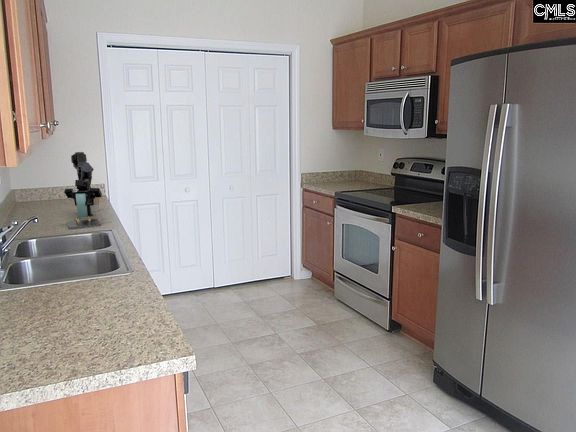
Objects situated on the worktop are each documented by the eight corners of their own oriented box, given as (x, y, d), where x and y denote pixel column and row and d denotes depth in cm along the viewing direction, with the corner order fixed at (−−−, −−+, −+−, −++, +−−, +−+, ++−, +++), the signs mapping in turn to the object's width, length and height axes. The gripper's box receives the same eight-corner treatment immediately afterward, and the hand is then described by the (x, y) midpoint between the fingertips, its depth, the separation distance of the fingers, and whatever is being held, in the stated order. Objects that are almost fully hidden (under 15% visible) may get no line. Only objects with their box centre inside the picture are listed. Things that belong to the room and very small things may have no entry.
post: (77, 216, 262) (75, 193, 259) (87, 215, 264) (84, 192, 262) (78, 218, 258) (76, 194, 255) (88, 217, 260) (85, 194, 257)
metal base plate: (66, 224, 265) (65, 216, 264) (96, 220, 272) (96, 213, 272) (69, 229, 251) (68, 221, 250) (101, 225, 259) (100, 218, 258)
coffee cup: (86, 210, 306) (83, 187, 303) (101, 209, 309) (98, 186, 306) (85, 212, 298) (83, 189, 295) (100, 211, 301) (98, 188, 298)
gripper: (63, 174, 259) (58, 197, 251) (98, 173, 261) (93, 196, 252) (70, 186, 268) (65, 208, 260) (103, 185, 270) (99, 208, 262)
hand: (80, 205), depth 258 cm, fingers closed on post, 5 cm apart
